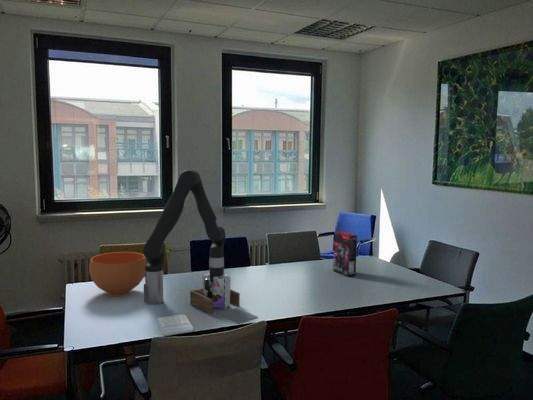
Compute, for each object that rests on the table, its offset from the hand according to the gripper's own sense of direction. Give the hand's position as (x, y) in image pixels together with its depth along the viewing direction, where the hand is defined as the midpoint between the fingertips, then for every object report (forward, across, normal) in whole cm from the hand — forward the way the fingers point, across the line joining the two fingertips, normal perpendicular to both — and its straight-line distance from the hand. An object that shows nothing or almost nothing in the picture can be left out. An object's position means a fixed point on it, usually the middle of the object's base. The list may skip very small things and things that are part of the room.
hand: (216, 296), depth 233 cm
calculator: (+6, -30, -10) cm, 32 cm away
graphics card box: (+5, +103, -1) cm, 103 cm away
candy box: (+5, 0, 0) cm, 5 cm away
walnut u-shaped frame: (+5, 0, +1) cm, 5 cm away
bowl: (+5, -31, +51) cm, 60 cm away
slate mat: (+5, 0, -18) cm, 19 cm away
